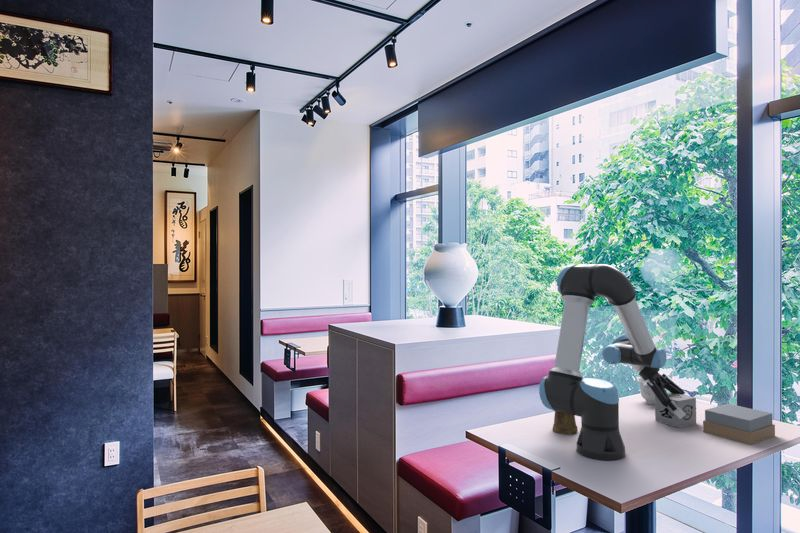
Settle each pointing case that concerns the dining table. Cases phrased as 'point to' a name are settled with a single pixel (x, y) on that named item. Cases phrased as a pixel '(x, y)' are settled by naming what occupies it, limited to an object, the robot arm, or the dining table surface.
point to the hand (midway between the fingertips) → (688, 413)
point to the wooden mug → (564, 423)
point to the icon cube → (670, 417)
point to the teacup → (646, 391)
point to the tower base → (739, 433)
